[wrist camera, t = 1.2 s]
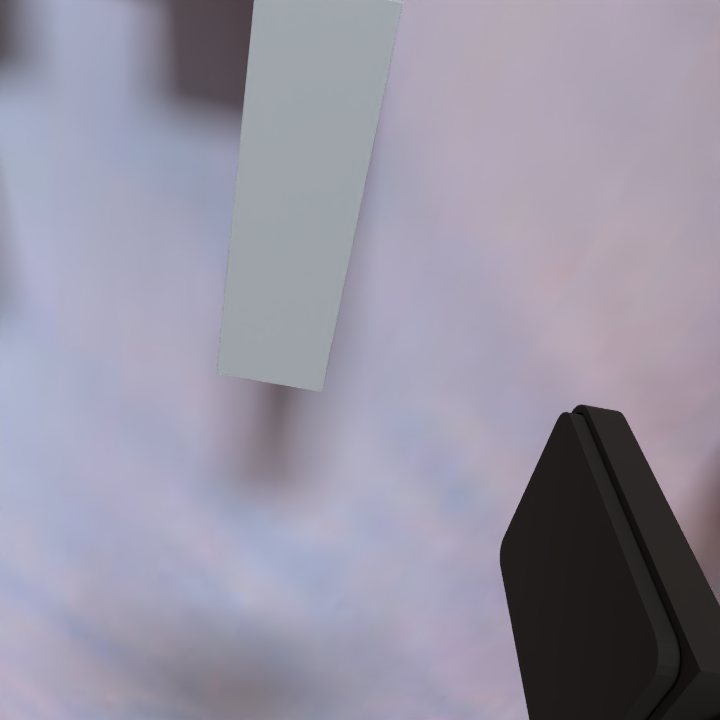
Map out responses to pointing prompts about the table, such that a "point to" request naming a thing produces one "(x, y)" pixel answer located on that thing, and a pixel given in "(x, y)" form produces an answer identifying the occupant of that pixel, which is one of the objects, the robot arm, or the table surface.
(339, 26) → the flat gray plate
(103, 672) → the table surface
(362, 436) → the table surface
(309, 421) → the table surface
